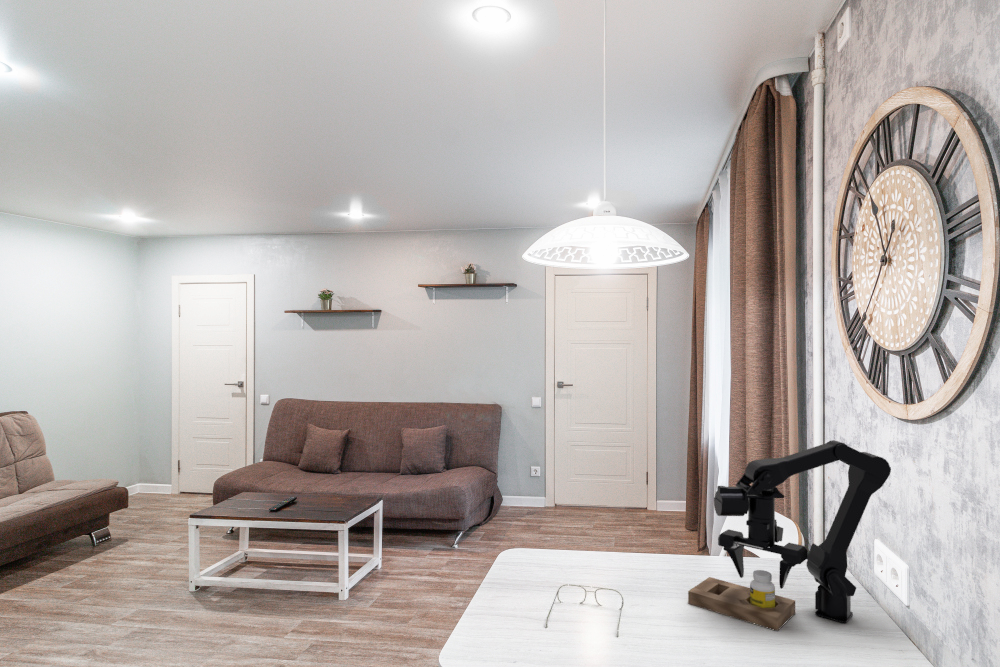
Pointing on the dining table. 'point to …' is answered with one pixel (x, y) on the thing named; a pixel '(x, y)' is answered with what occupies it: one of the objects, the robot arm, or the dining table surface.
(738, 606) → the socket board
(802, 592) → the dining table surface
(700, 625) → the dining table surface
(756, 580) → the supplement bottle
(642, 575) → the dining table surface
